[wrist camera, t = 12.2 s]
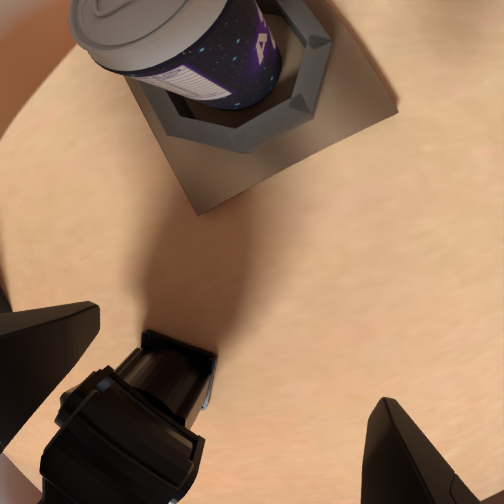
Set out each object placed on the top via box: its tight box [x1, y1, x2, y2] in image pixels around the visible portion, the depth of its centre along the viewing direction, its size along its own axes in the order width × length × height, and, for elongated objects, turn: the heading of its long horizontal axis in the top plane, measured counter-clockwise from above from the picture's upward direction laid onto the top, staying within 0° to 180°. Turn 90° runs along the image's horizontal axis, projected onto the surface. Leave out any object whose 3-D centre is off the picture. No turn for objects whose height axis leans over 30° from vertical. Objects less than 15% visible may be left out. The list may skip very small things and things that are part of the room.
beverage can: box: [68, 0, 282, 111], centre depth 12 cm, size 6×6×12 cm
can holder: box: [124, 0, 399, 216], centre depth 17 cm, size 14×14×4 cm
